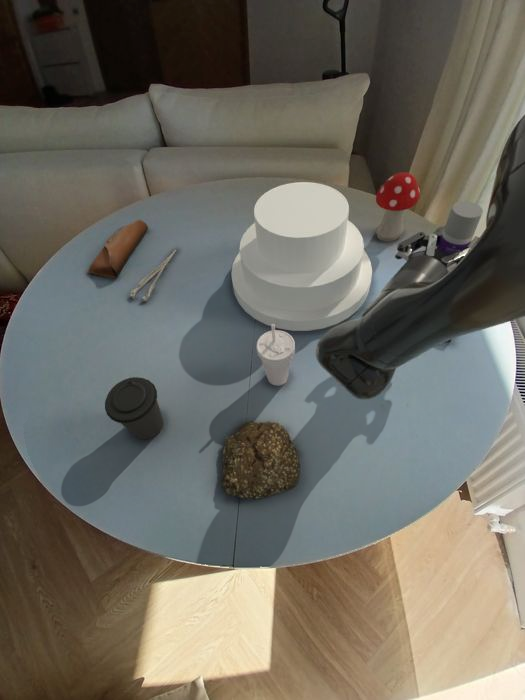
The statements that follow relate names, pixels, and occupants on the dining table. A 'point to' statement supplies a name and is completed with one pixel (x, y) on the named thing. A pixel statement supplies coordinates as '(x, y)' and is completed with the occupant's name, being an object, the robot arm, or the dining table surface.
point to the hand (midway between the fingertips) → (460, 235)
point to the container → (460, 227)
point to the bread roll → (259, 461)
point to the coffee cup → (135, 407)
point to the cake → (301, 259)
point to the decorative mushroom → (396, 204)
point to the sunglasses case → (118, 250)
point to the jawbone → (149, 276)
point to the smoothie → (276, 354)
